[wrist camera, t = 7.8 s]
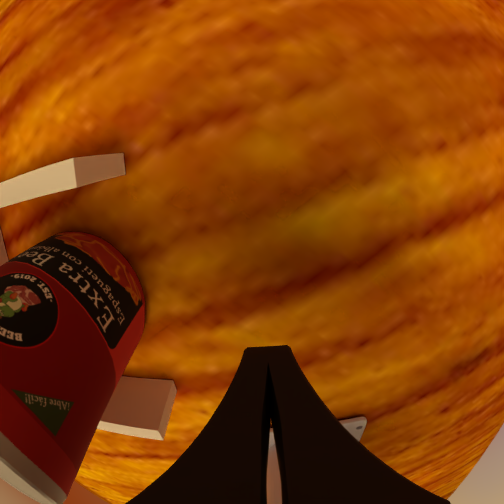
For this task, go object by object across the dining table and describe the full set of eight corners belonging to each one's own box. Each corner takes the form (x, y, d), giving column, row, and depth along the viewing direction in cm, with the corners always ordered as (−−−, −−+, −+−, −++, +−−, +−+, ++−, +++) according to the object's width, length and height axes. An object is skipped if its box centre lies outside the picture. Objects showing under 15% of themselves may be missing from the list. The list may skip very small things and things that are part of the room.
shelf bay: (176, 390, 16) (156, 469, 10) (48, 372, 16) (13, 423, 11) (123, 152, 11) (34, 163, 6) (-14, 194, 12) (-81, 220, 6)
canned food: (172, 272, 13) (56, 492, 3) (128, 370, 16) (65, 519, 5) (52, 200, 12) (-122, 292, 2) (34, 309, 14) (-63, 417, 4)
